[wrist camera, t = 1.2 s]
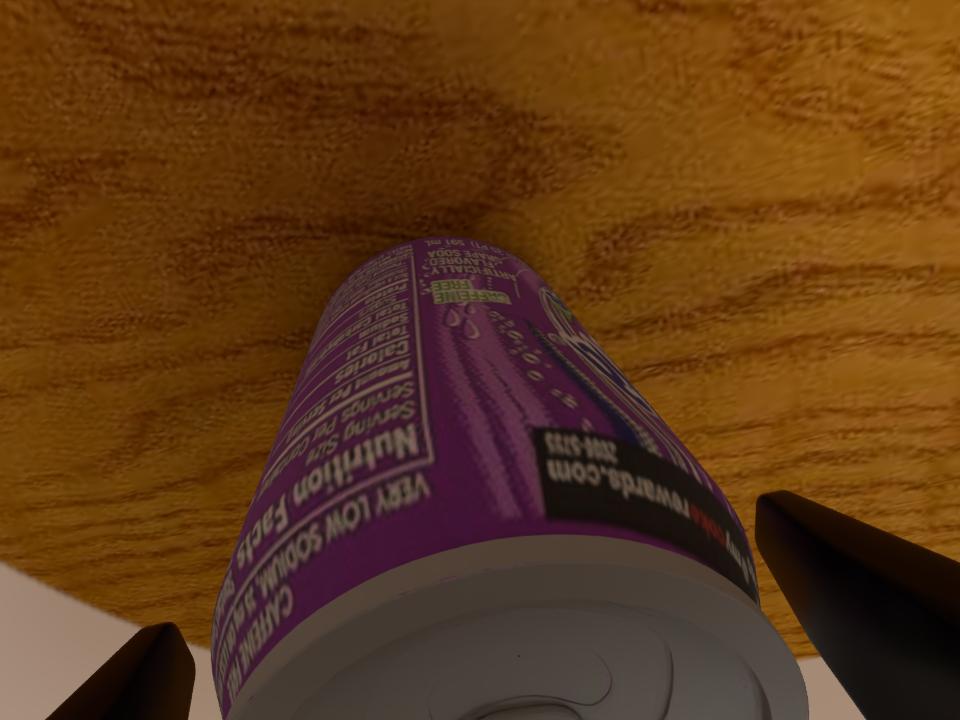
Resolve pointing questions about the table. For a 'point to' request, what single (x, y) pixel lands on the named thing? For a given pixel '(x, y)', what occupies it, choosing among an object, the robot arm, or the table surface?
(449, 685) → the beverage can
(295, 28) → the table surface
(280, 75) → the table surface
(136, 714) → the robot arm
